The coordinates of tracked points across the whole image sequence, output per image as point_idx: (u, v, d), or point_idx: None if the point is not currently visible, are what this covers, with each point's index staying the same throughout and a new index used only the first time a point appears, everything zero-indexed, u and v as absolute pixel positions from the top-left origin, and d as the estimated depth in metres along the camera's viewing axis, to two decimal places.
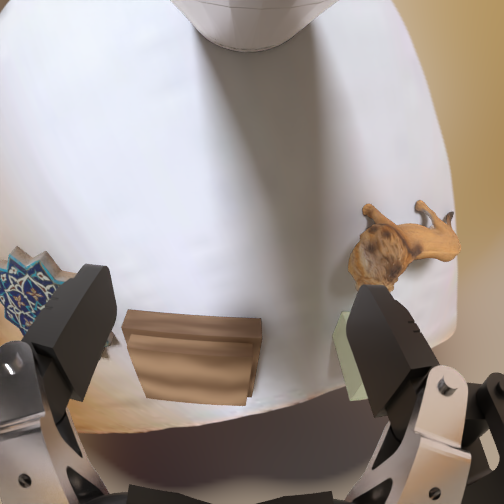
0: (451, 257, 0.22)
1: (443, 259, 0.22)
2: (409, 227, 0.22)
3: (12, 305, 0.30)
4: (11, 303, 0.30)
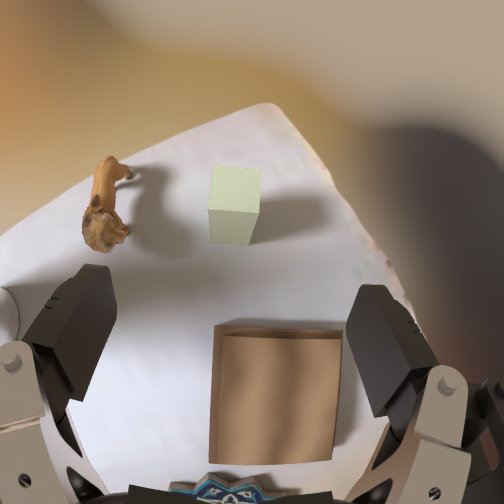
0: (105, 164, 0.29)
1: (107, 171, 0.29)
2: None
3: None
4: None
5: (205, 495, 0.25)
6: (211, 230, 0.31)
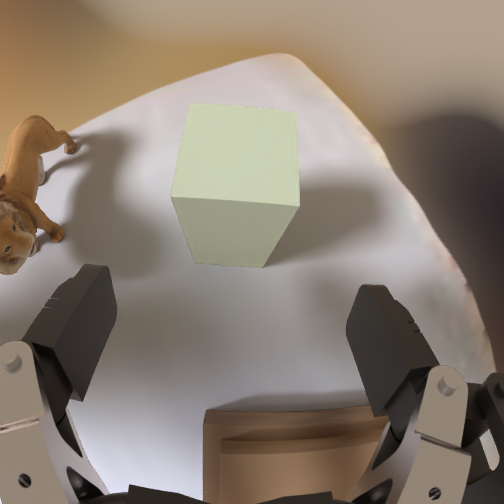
0: (23, 126, 0.14)
1: (24, 135, 0.14)
2: None
3: None
4: None
5: None
6: (190, 244, 0.15)
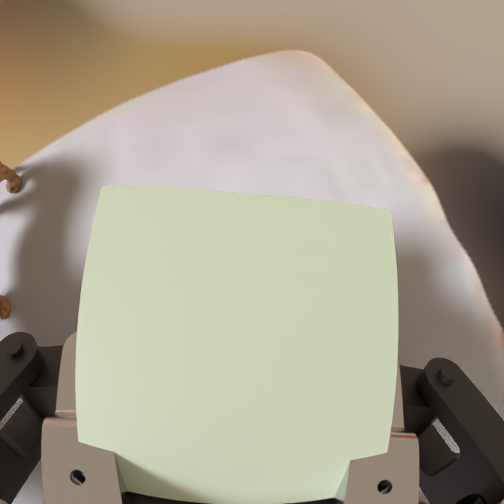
0: None
1: None
2: None
3: None
4: None
5: None
6: None
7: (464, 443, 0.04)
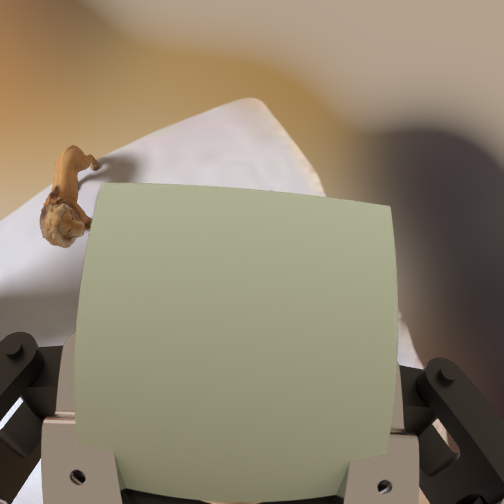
0: (66, 154, 0.25)
1: (68, 160, 0.25)
2: None
3: None
4: None
5: None
6: None
7: (464, 443, 0.04)
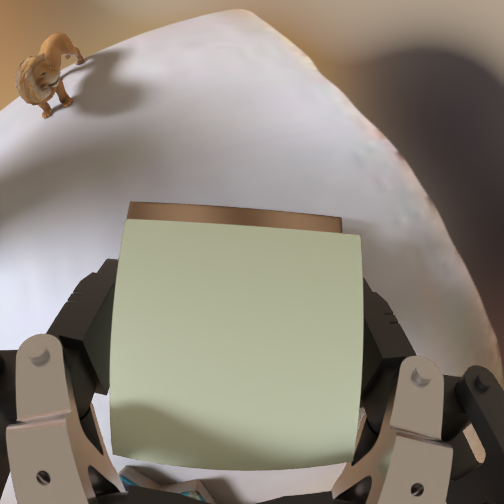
0: (54, 35, 0.18)
1: (55, 38, 0.18)
2: None
3: None
4: None
5: None
6: None
7: (490, 447, 0.03)
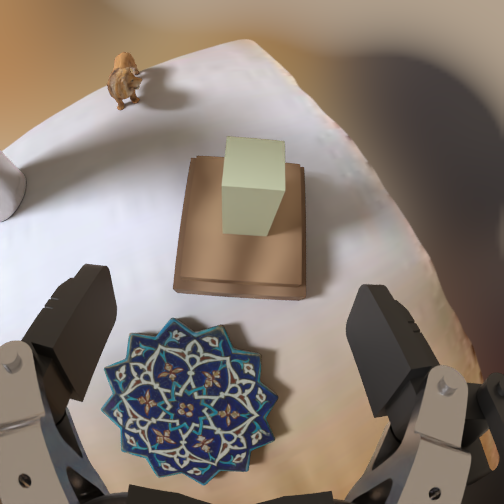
0: (123, 53, 0.35)
1: (125, 56, 0.35)
2: None
3: (173, 454, 0.26)
4: (170, 453, 0.25)
5: (167, 341, 0.29)
6: (223, 217, 0.26)
7: None
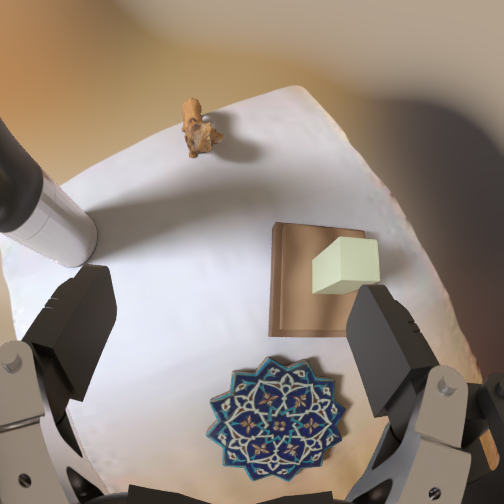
0: (193, 100, 0.42)
1: (195, 104, 0.43)
2: (185, 129, 0.43)
3: (267, 461, 0.33)
4: (265, 461, 0.33)
5: (266, 376, 0.37)
6: (324, 288, 0.33)
7: None
